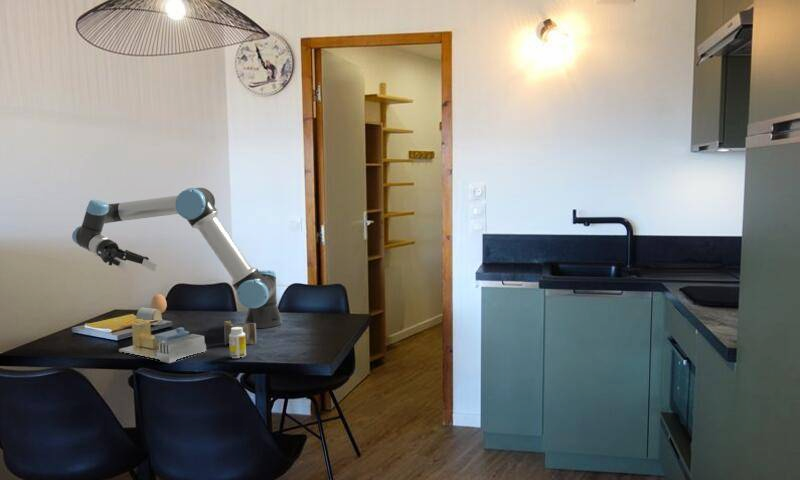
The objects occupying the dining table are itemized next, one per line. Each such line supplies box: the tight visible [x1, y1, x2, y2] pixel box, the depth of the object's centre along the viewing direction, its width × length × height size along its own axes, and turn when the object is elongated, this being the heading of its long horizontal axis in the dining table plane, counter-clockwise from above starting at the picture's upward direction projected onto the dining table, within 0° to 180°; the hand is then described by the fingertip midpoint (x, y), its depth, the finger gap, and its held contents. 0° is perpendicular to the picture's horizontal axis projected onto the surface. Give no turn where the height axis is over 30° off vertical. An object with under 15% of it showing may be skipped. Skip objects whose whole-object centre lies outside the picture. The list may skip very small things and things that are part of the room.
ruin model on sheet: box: [223, 320, 258, 346], centre depth 248 cm, size 11×3×10 cm, turn 96°
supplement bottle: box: [228, 327, 247, 359], centre depth 230 cm, size 6×6×10 cm
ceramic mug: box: [135, 307, 163, 321], centre depth 281 cm, size 11×8×8 cm
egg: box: [150, 293, 168, 314], centre depth 302 cm, size 7×7×9 cm
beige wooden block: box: [131, 321, 163, 349], centre depth 242 cm, size 11×5×8 cm, turn 57°
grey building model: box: [118, 326, 207, 364], centre depth 238 cm, size 28×16×8 cm, turn 57°
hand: (141, 267), depth 248 cm, fingers open, 13 cm apart
